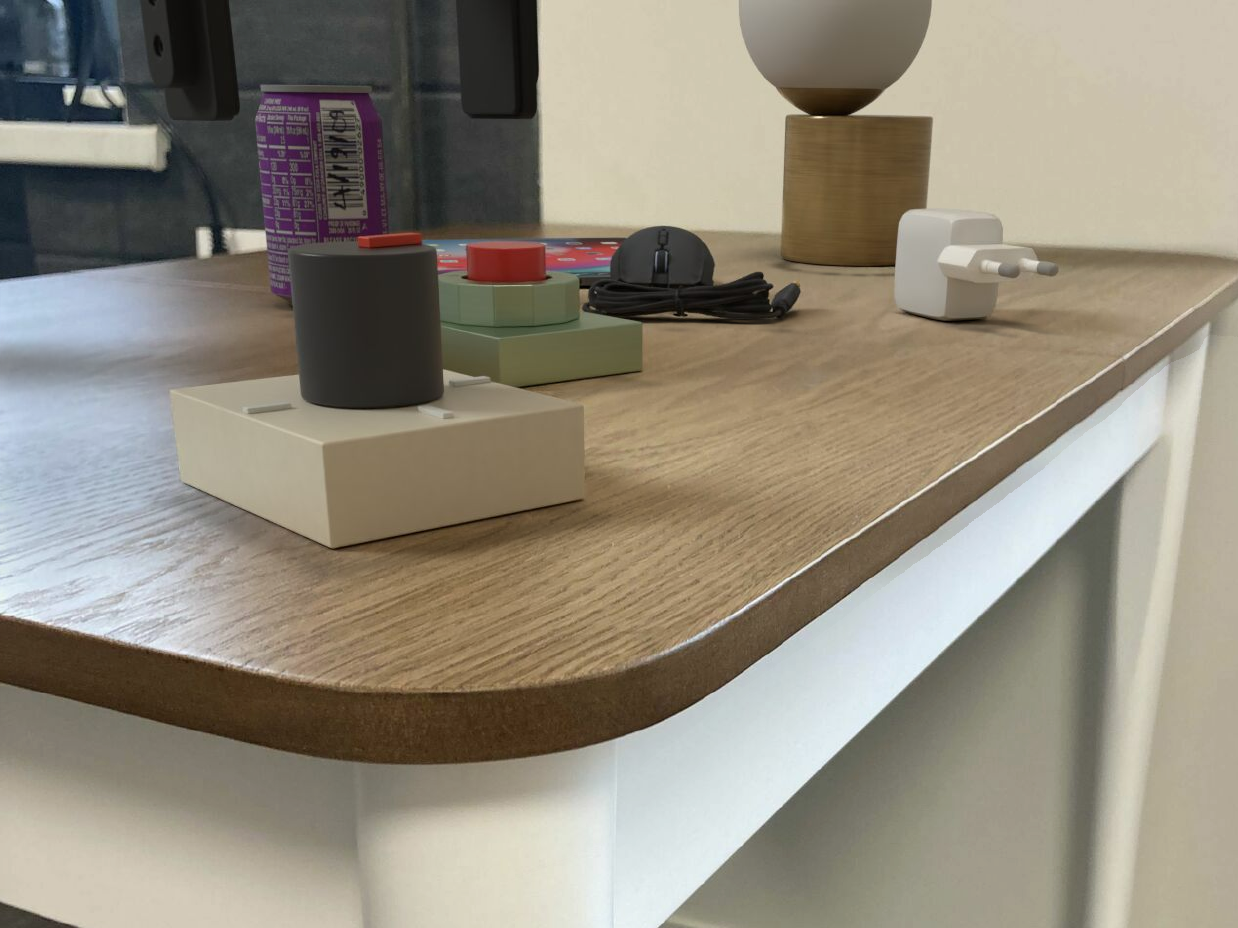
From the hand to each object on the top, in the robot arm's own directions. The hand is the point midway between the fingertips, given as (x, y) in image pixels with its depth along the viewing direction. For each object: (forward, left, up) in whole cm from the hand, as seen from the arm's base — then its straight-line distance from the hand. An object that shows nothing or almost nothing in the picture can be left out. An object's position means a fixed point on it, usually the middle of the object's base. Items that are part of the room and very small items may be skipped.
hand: (361, 119), depth 43 cm
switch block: (-17, +17, -11) cm, 27 cm away
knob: (0, 0, -8) cm, 8 cm away
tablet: (-50, +43, -11) cm, 67 cm away
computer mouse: (-28, +39, -11) cm, 49 cm away
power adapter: (-13, +46, -11) cm, 49 cm away
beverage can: (-41, +21, -11) cm, 48 cm away
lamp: (-42, +65, -11) cm, 78 cm away
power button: (-17, +17, -7) cm, 25 cm away
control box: (0, 0, -11) cm, 11 cm away
